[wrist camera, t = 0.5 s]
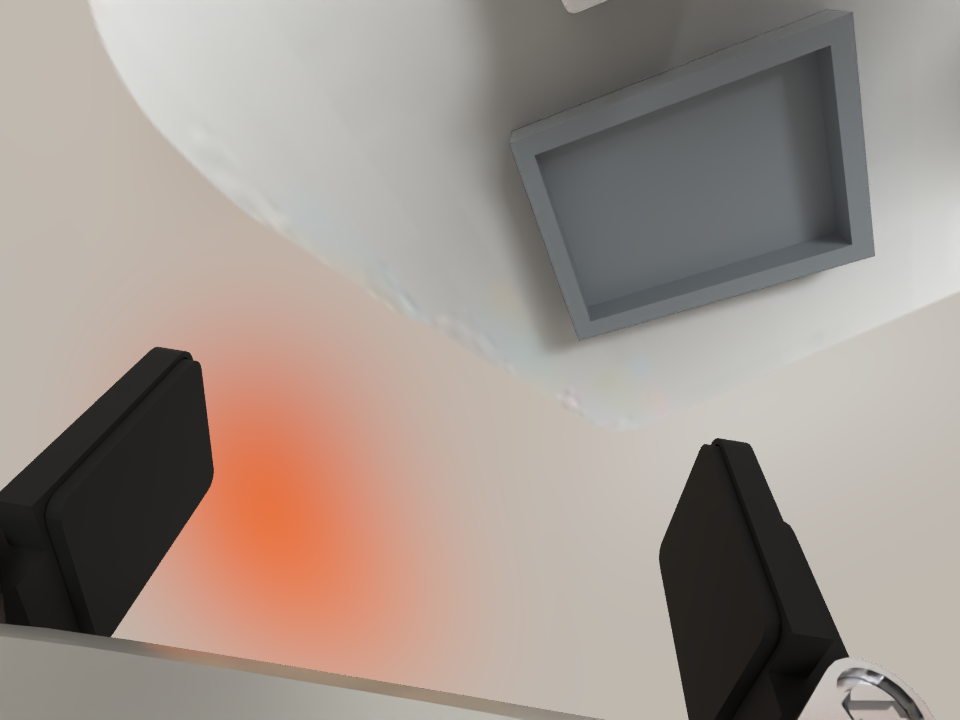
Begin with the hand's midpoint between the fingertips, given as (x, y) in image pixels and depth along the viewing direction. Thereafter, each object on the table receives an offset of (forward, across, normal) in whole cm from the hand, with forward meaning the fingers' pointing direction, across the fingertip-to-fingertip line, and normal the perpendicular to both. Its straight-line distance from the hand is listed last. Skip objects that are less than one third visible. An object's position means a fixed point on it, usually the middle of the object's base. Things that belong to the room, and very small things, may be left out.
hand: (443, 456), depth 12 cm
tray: (+27, -10, +1) cm, 29 cm away
